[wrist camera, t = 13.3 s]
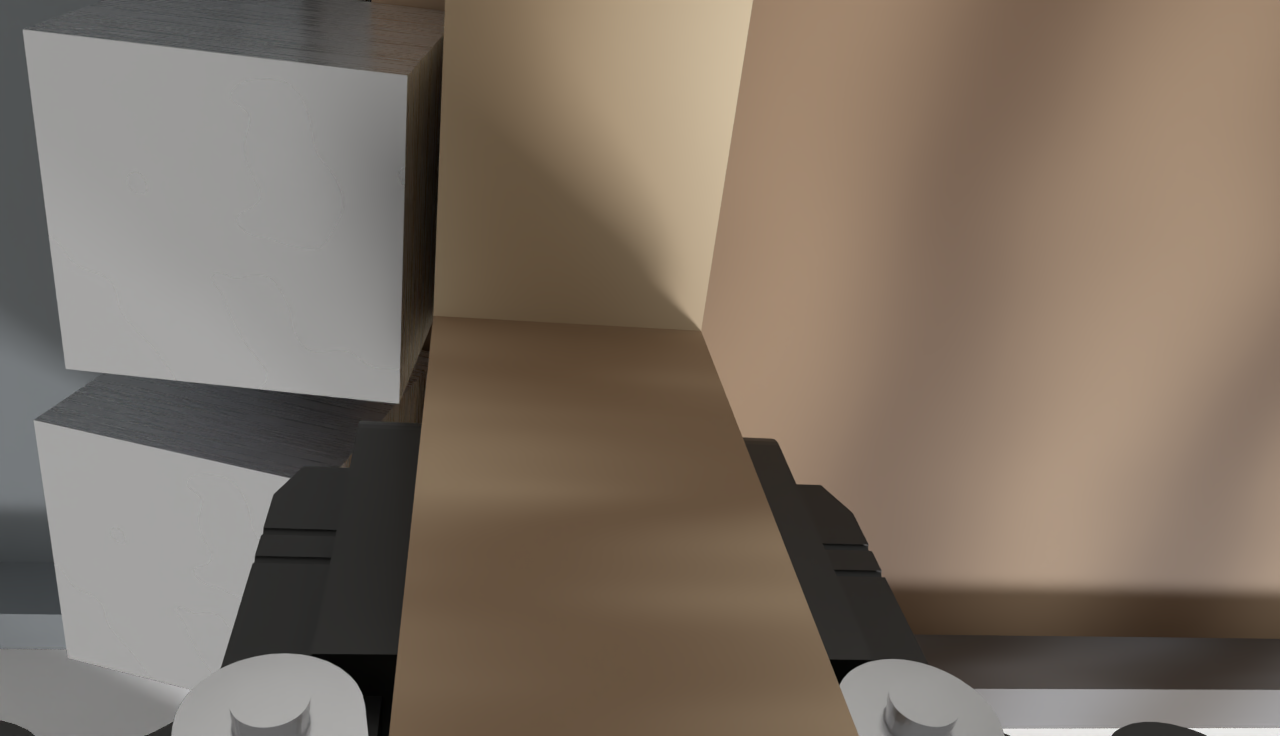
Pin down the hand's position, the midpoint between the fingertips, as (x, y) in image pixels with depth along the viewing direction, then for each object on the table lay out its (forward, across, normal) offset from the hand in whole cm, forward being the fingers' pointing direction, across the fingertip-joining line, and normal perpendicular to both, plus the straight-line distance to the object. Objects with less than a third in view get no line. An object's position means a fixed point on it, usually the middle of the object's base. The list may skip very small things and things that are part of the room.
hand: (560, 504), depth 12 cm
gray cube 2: (+6, +3, -2) cm, 7 cm away
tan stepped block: (+5, 0, 0) cm, 5 cm away
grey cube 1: (+6, +3, +3) cm, 8 cm away
